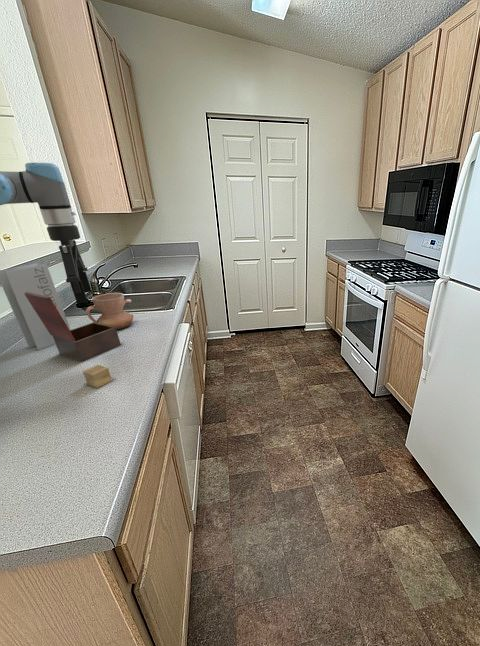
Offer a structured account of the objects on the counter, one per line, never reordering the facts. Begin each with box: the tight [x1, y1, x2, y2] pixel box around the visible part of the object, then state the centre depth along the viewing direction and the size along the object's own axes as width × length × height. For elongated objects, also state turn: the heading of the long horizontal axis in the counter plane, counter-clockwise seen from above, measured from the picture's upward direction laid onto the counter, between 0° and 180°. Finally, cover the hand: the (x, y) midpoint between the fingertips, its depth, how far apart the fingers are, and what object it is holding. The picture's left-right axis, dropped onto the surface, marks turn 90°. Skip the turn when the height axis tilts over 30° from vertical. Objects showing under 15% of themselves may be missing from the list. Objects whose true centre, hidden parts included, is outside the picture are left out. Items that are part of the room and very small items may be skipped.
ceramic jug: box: [85, 292, 134, 331], centre depth 145 cm, size 18×14×14 cm
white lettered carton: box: [0, 262, 71, 351], centre depth 127 cm, size 14×6×30 cm, turn 159°
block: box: [82, 364, 113, 389], centre depth 103 cm, size 5×5×5 cm
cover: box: [24, 292, 75, 342], centre depth 112 cm, size 16×14×1 cm
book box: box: [53, 321, 122, 362], centre depth 125 cm, size 16×14×8 cm
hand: (84, 297), depth 105 cm, fingers open, 13 cm apart
